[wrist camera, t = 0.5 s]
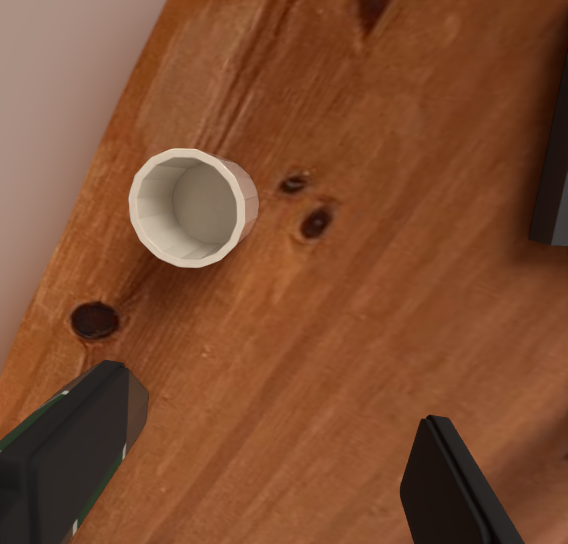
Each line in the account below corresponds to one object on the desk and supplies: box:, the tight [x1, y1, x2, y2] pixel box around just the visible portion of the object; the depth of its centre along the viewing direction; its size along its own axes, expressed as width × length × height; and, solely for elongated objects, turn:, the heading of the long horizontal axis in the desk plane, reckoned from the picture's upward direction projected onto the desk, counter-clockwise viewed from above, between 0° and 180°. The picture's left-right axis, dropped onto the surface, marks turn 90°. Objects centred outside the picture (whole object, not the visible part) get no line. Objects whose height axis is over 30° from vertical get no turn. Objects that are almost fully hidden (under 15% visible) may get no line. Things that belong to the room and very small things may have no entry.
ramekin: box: [129, 148, 259, 268], centre depth 24 cm, size 7×7×6 cm
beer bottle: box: [0, 364, 149, 544], centre depth 20 cm, size 8×8×24 cm
